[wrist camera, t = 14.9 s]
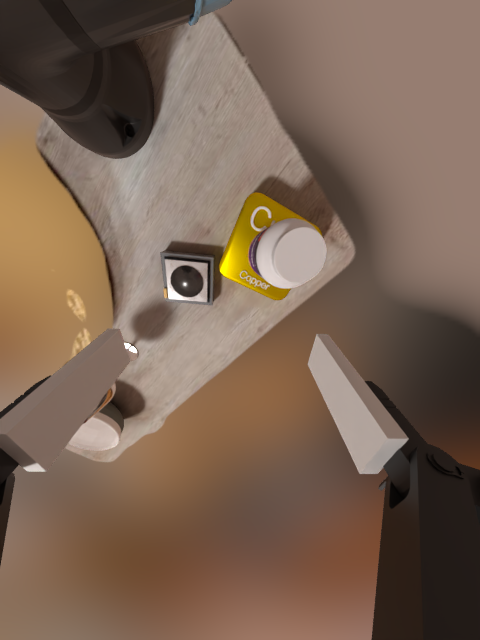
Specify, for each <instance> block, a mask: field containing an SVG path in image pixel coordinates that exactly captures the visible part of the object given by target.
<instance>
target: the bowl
mask: <svg viewBox="0 0 480 640" xmlns="http://www.w3.org/2000/svg"><path fill="white" fill-rule="evenodd" d="M123 427H124V420H123V417H122V415H121V413H120V411H119V410H118V409H117V407H116V406H115V405H114V404H112V403H110V402H109V403H108V404H107V405H106V406H105V407H103V408H102V409H101V410H100V411H99V412H98V413H97V414H95V415H94V416H93V417H92V418H91V419H90V420H88V421H87V422H86V423H84V424H82V425H81V427H80V428H79V429H78V431H77V432H76V433H75V435H74V436H73V437H72V439H71V440H70V441H69V443H68V444H70V445H72V446H75V447H78V448H82V449H87V450H107V449H111V448H113V447H115V446H116V445H117V444H118V443H119V441H120V436H121V433H122V431H123Z"/></svg>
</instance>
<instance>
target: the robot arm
mask: <svg viewBox="0 0 480 640" xmlns="http://www.w3.org/2000/svg"><path fill="white" fill-rule="evenodd" d="M231 1H232V0H0V84H1V85H3V86H4V87H6V88H8V89H10V90H11V91H13V92H15V93H17V94H19V95H21V96H22V97H24V98H26V99H27V100H29V101H31V102H33V103H34V104H36V105H38V106H40V107H41V108H42V109H43V110H44V111H45V112H46V113H47V114H48V115H49V116H50V117H51V118H52V119H53V120H54V121H55V122H56V123H57V124H58V126H59V127H60V128H61V129H62V130H63V131H64V132H65V133H66V134H67V135H68V136H69V137H71V138H72V139H73V140H74V141H76V142H77V143H79V144H80V145H81V146H83V147H85V148H87V149H89V150H91V151H93V152H95V153H97V154H99V155H101V156H104V157H108V158H114V159H120V158H126V157H129V156H131V155H133V154H134V153H136V152H137V151H138V150H139V149H140V148H141V147H142V146H143V145H144V143H145V142H146V140H147V138H148V136H149V134H150V131H151V127H152V123H153V116H154V96H153V88H152V83H151V78H150V75H149V71H148V68H147V65H146V62H145V60H144V57H143V55H142V53H141V51H140V49H139V47H138V45H137V43H136V41H135V40H136V39H139V38H142V37H145V36H148V35H151V34H154V33H157V32H160V31H163V30H166V29H169V28H172V27H175V26H178V25H181V24H184V23H187V22H188V23H189V25H190V26H191V25H195V24H196V23H197V22H198V19H199V17H201V16H204V15H206V14H208V13H210V12H213V11H215V10H217V9H220V8H222V7H224V6H226V5H228V4H229V3H230V2H231ZM130 361H131V360H130V357H129V354H128V351H127V349H126V346H125V343H124V340H123V337H122V334H121V331H120V329H107V330H106V331H105V332H103V333H102V334H101V335H100V336H98V338H96V339H95V340H94V341H93V342H91V343H90V344H89V345H88V346H87V347H85V348H84V349H83V350H82V351H81V352H79V353H78V354H77V355H76V356H75V357H73V358H72V359H71V360H70V361H69V362H68V363H66V364H65V365H64V366H63V367H62V368H60V369H59V370H58V371H57V372H56V373H54V374H53V375H52V376H49V377H47V378H45V379H43V380H41V381H39V382H38V383H36V384H35V385H33V386H32V387H31V388H30V389H28V390H27V391H26V392H25V393H24V395H21V396H20V397H19V398H17V399H16V400H15V401H14V403H11V404H10V405H9V406H7V407H6V408H5V409H4V410H3V411H1V412H0V565H1V558H2V552H3V547H4V541H5V535H6V529H7V523H8V517H9V511H10V505H11V499H12V493H13V487H14V482H15V476H14V474H13V473H12V472H13V471H14V469H15V468H16V467H17V466H18V465H20V466H22V467H23V468H24V469H25V470H26V471H39V472H41V471H43V472H46V471H47V470H48V469H49V467H50V466H51V465H52V464H53V462H54V461H55V459H56V458H57V457H58V456H59V454H60V453H61V452H62V450H63V449H64V448H65V446H66V445H67V444H68V443H69V441H70V440H71V439H72V437H73V436H74V435H75V433H76V432H77V431H78V429H79V428H80V427H81V425H82V424H83V423H84V421H85V420H86V419H87V418H88V416H89V415H90V414H91V412H92V411H93V410H94V408H95V407H96V406H97V404H98V403H99V402H100V400H101V399H102V398H103V396H104V395H105V394H106V393H107V391H108V390H109V389H110V387H111V386H112V385H113V383H114V382H115V381H116V379H117V378H118V377H119V375H120V374H121V373H122V371H123V370H124V369H125V368H126V366H127V365H128V364H129V362H130ZM308 366H309V368H310V370H311V372H312V374H313V377H314V379H315V381H316V383H317V385H318V387H319V389H320V391H321V393H322V396H323V398H324V400H325V402H326V404H327V406H328V408H329V410H330V412H331V414H332V416H333V418H334V421H335V423H336V425H337V427H338V429H339V431H340V433H341V435H342V438H343V440H344V442H345V444H346V446H347V448H348V450H349V452H350V454H351V457H352V459H353V461H354V463H355V465H356V467H357V469H358V471H359V473H360V474H377V473H378V472H379V471H380V470H381V469H382V468H383V467H384V469H385V471H386V472H387V474H388V477H387V478H386V479H385V480H384V481H383V482H382V483H381V484H380V486H379V489H380V490H382V489H384V488H385V497H384V508H383V519H382V530H381V541H380V553H379V564H378V576H377V586H376V597H375V609H374V619H373V631H372V640H480V470H478V469H475V468H472V467H468V466H466V465H462V464H459V463H458V462H457V461H456V460H454V459H453V458H452V457H451V456H450V455H449V454H447V453H446V452H444V451H443V450H441V449H440V448H437V447H435V446H432V445H429V444H427V443H426V441H424V439H423V438H422V437H421V436H420V435H419V433H418V432H417V431H416V430H415V429H414V427H413V426H412V425H411V424H410V423H409V422H408V420H407V419H406V418H405V417H404V416H403V414H402V413H401V412H400V411H399V410H398V409H397V408H396V406H395V405H394V404H393V402H392V401H390V400H389V398H388V396H387V395H386V394H385V393H384V392H383V390H382V389H380V388H379V387H378V386H377V385H375V384H374V383H373V382H371V381H364V380H363V379H362V378H361V376H360V375H359V374H358V372H357V371H356V370H355V369H354V367H353V366H352V365H351V363H350V362H349V361H348V360H347V358H346V357H345V356H344V354H343V353H342V352H341V351H340V349H339V348H338V347H337V346H336V344H335V343H334V342H333V340H332V339H331V338H330V336H329V335H328V334H317V335H316V338H315V341H314V345H313V348H312V352H311V355H310V358H309V362H308Z"/></svg>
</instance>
